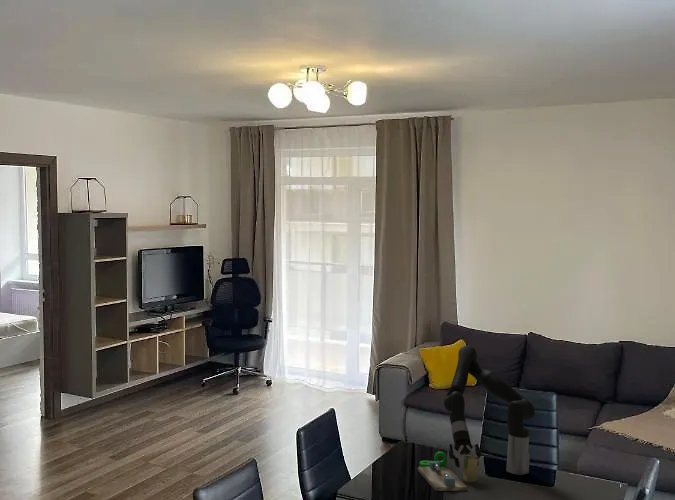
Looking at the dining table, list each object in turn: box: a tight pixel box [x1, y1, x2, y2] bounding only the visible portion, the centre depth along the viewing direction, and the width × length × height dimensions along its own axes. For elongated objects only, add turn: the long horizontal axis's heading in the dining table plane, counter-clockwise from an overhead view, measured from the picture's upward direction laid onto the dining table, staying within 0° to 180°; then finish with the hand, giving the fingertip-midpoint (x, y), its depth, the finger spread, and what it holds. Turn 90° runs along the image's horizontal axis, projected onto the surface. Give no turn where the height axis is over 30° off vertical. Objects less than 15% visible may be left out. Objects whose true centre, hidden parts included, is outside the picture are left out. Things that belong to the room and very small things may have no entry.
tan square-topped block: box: [462, 455, 479, 483], centre depth 300 cm, size 4×4×10 cm
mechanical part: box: [419, 451, 448, 467], centre depth 315 cm, size 12×6×8 cm, turn 87°
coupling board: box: [417, 460, 468, 492], centre depth 298 cm, size 14×25×4 cm, turn 10°
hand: (467, 467), depth 301 cm, fingers open, 8 cm apart
